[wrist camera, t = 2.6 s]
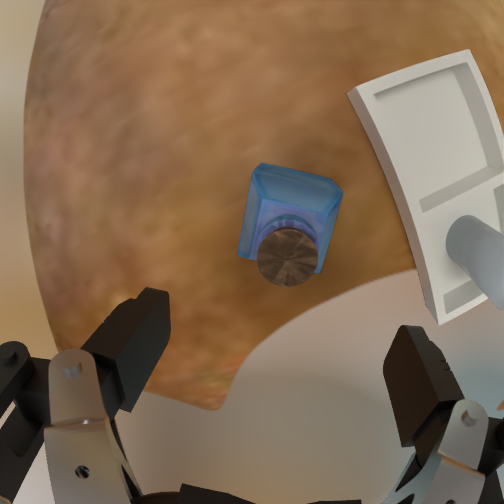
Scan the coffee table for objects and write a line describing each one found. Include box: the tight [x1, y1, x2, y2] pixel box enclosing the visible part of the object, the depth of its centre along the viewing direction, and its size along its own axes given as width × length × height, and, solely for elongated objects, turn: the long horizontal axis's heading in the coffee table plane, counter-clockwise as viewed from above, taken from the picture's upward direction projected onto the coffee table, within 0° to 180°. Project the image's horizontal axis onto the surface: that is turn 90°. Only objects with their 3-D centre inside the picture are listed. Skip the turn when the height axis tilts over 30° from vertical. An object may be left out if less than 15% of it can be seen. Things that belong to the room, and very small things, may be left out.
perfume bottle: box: [237, 163, 343, 287], centre depth 20 cm, size 6×6×12 cm
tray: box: [346, 49, 504, 325], centre depth 21 cm, size 23×12×4 cm, turn 29°
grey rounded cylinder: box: [446, 215, 504, 310], centre depth 19 cm, size 5×5×9 cm
